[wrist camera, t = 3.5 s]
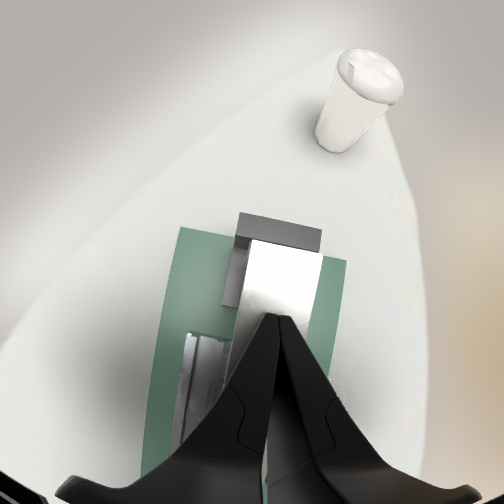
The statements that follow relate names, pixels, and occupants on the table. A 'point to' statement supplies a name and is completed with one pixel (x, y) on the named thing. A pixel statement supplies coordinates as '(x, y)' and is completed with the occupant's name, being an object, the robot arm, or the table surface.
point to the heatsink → (198, 383)
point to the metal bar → (273, 295)
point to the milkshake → (357, 98)
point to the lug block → (270, 233)
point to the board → (216, 325)
